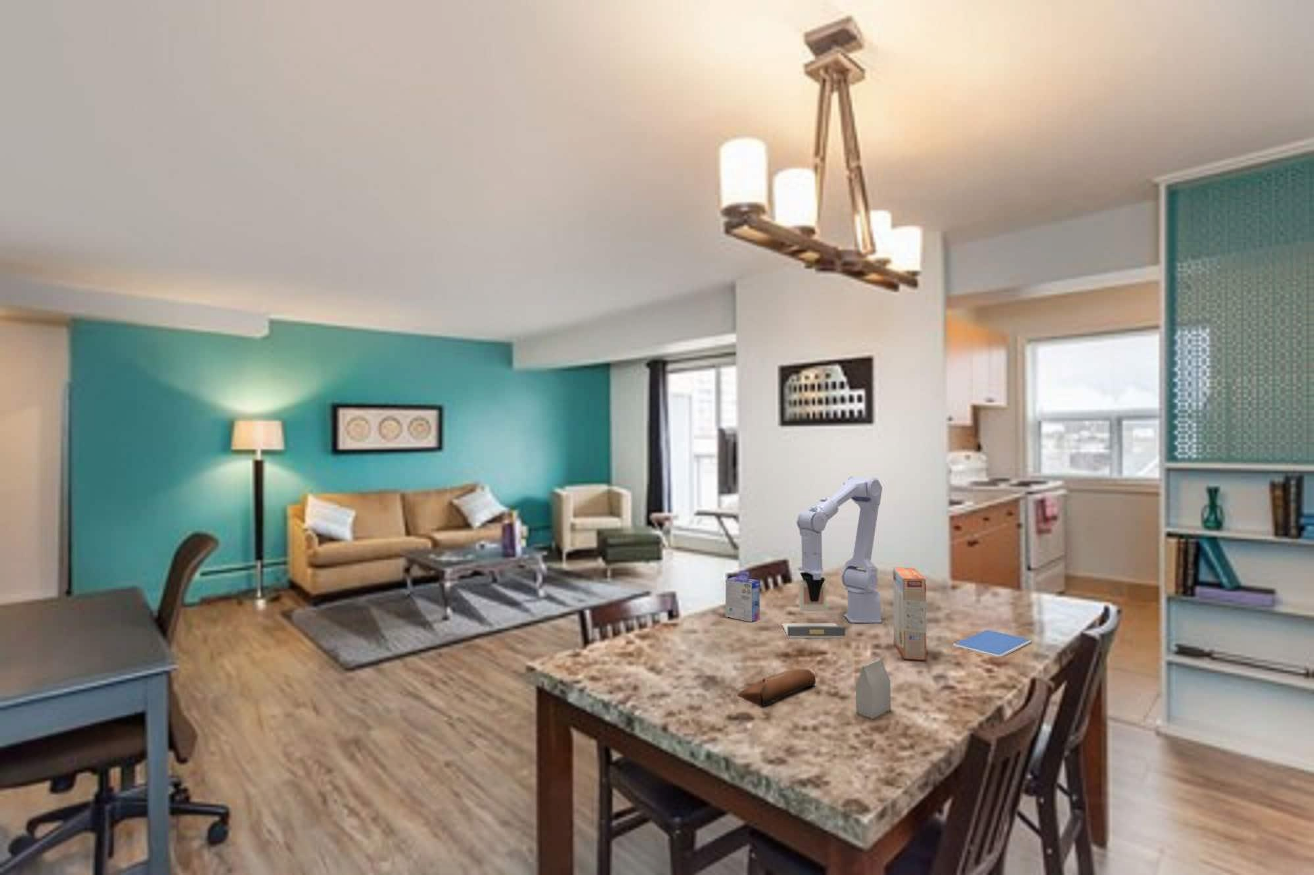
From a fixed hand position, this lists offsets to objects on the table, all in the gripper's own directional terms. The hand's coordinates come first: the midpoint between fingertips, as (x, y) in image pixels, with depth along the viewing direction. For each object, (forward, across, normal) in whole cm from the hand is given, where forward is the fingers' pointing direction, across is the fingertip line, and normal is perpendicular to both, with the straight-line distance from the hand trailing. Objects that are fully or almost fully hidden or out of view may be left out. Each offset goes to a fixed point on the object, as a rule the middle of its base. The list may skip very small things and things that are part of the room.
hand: (812, 599), depth 180 cm
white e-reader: (+10, -1, 0) cm, 10 cm away
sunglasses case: (+10, +42, -16) cm, 46 cm away
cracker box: (+10, +16, +22) cm, 29 cm away
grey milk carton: (+10, +52, +2) cm, 53 cm away
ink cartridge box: (+10, -15, -19) cm, 26 cm away
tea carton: (+3, 0, 0) cm, 3 cm away
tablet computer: (+10, +10, +46) cm, 48 cm away
